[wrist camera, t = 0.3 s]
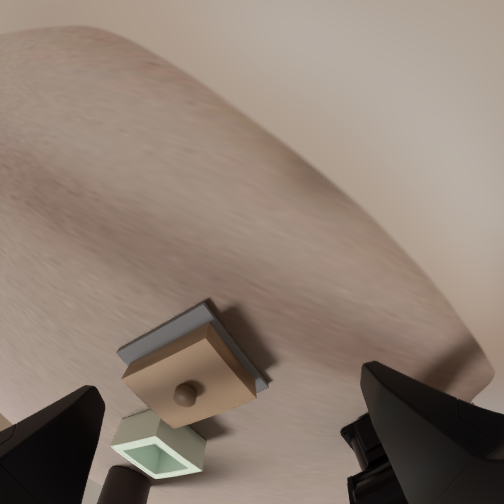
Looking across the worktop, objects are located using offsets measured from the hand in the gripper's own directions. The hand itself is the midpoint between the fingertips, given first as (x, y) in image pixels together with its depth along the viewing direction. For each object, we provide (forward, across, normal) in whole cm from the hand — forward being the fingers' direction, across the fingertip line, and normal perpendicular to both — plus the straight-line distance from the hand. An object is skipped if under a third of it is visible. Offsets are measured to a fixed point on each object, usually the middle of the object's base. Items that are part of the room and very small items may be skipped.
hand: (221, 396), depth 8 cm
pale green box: (+14, +11, +18) cm, 25 cm away
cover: (+13, +5, +9) cm, 17 cm away
